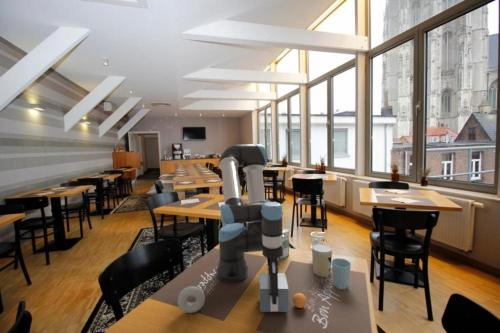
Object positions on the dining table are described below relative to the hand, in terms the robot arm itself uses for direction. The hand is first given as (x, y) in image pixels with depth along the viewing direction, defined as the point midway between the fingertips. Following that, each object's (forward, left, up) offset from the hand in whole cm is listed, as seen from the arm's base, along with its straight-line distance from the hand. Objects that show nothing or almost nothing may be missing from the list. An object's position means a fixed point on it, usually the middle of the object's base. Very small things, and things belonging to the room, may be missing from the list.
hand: (273, 300), depth 92 cm
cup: (+15, +29, -2) cm, 33 cm away
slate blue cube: (0, 0, -1) cm, 1 cm away
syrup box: (-20, +36, -2) cm, 42 cm away
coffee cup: (+4, +34, -2) cm, 35 cm away
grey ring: (-21, -22, -2) cm, 31 cm away
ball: (+8, +6, 0) cm, 10 cm away
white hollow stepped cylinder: (-3, +44, -2) cm, 44 cm away
